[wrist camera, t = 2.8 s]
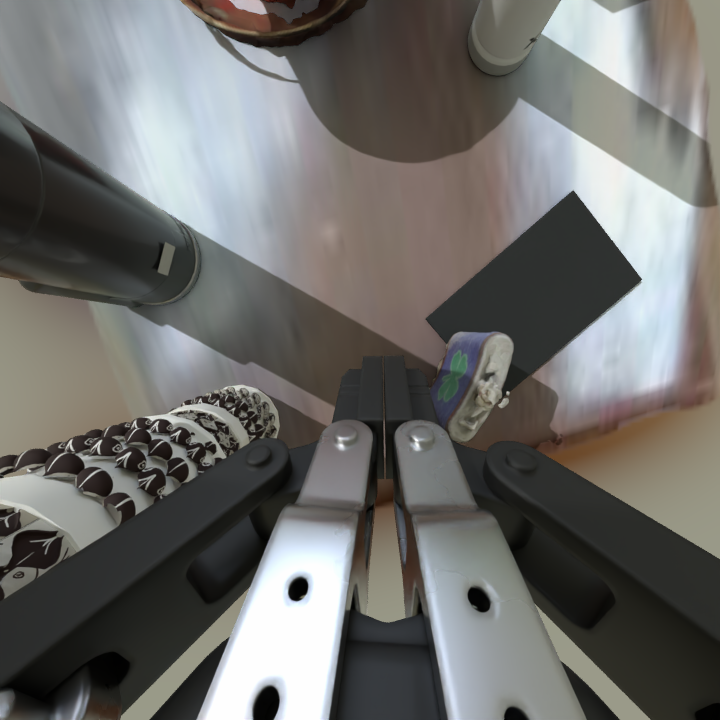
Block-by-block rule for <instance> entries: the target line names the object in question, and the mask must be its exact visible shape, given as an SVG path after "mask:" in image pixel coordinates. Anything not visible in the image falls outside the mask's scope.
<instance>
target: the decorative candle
mask: <svg viewBox="0 0 720 720" xmlns="http://www.w3.org/2000/svg"><path fill="white" fill-rule="evenodd" d="M279 427H280V423H279V416H278V411H277V409H276V407H275V406H274V404H273V402H272V401H271V399H270V398H269V397H268V396H267V395H265V394H264V393H263V392H261V391H260V390H259V389H257V388H253V387H249V386H245V385H237V386H229V387H226V388H224V389H222V390H219V389H218V390H215V391H214V393H212V392H208V393H207V394H206V395H205V397H202V396H199V397H196V398H195V399H194V400H187V401H185V402H183V403H182V405H181V406H180V408H175V409H172V410H171V411H170V412H169V413H167V414H164V415H156V416H148V417H141V418H137V419H135V420H133V421H132V422H131V423H129V422H125V423H121V424H119V425H113V426H110V427H107V428H106V429H105V430H104V431H102V430H99V429H95V430H91V431H89V432H87V433H86V434H85V435H80V436H75V437H73V438H71V439H69V440H68V441H67V442H59V443H55V444H53V445H51V446H49V447H48V448H47V449H46V450H44V449H31V450H28V451H25V452H23V453H21V454H20V455H19V456H17V455H7V456H4V457H1V458H0V601H1V600H3V599H5V598H6V597H8V596H9V595H11V594H12V593H14V592H16V591H17V590H19V589H20V588H22V587H23V586H25V585H27V584H28V583H30V582H31V581H33V580H34V579H36V578H38V577H39V576H41V575H42V574H44V573H46V572H47V571H49V570H50V569H52V568H53V567H55V566H57V565H58V564H60V563H61V562H63V561H64V560H66V559H68V558H69V557H71V556H72V555H74V554H75V553H77V552H79V551H80V550H82V549H83V548H85V547H86V546H88V545H90V544H91V543H93V542H94V541H96V540H97V539H99V538H101V537H102V536H104V535H105V534H107V533H108V532H110V531H112V530H113V529H115V528H116V527H118V526H119V525H121V524H123V523H124V522H126V521H127V520H129V519H130V518H132V517H134V516H135V515H137V514H138V513H140V512H141V511H143V510H145V509H146V508H148V507H149V506H151V505H152V504H154V503H156V502H157V501H159V500H160V499H162V498H163V497H165V496H167V495H168V494H170V493H171V492H173V491H174V490H176V489H178V488H179V487H181V486H182V485H184V484H185V483H187V482H189V481H190V480H192V479H193V478H195V477H196V476H198V475H200V474H201V473H203V472H204V471H206V470H207V469H209V468H211V467H212V466H214V465H215V464H217V463H218V462H220V461H222V460H223V459H225V458H226V457H228V456H229V455H231V454H233V453H234V452H236V451H237V450H239V449H240V448H242V447H244V446H245V445H247V444H249V443H250V442H253V441H255V440H258V439H262V438H276V439H277V435H278V431H279ZM24 469H27V474H25V475H22V476H15V477H7V478H4V477H3V476H4V475H6V474H8V473H12V472H15V471H20V470H24Z"/></svg>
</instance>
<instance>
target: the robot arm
mask: <svg viewBox="0 0 720 720" xmlns="http://www.w3.org/2000/svg"><path fill="white" fill-rule="evenodd" d="M200 267H201V256H200V250H199V247H198V244H197V241H196V239H195V237H194V236H193V234H192V233H191V231H190V230H189V229H188V228H187V227H186V226H185V225H184V224H183V223H182V222H181V221H179V220H178V219H176V218H175V217H173V216H172V215H170V214H168V213H166V212H165V211H163V210H161V209H160V208H158V207H157V206H155V205H154V204H152V203H151V202H149V201H148V200H146V199H145V198H144V197H142V196H141V195H139V194H138V193H136V192H135V191H133V190H132V189H130V188H129V187H127V186H126V185H124V184H123V183H121V182H120V181H118V180H117V179H115V178H114V177H112V176H111V175H109V174H108V173H106V172H105V171H103V170H102V169H100V168H99V167H97V166H96V165H94V164H93V163H91V162H90V161H88V160H87V159H85V158H84V157H82V156H81V155H79V154H78V153H76V152H75V151H73V150H72V149H70V148H69V147H67V146H66V145H64V144H63V143H61V142H60V141H58V140H57V139H55V138H54V137H52V136H51V135H49V134H48V133H46V132H45V131H43V130H42V129H41V128H39V127H38V126H36V125H35V124H33V123H32V122H30V121H29V120H27V119H26V118H24V117H23V116H21V115H20V114H18V113H17V112H15V111H14V110H12V109H11V108H9V107H8V106H6V105H5V104H3V103H2V102H0V277H5V278H10V279H16V280H18V281H19V282H20V284H21V285H22V286H23V287H24V288H25V289H27V290H29V291H31V292H35V293H42V294H49V295H55V296H63V297H69V298H75V299H82V300H89V301H96V302H102V303H109V304H116V305H122V306H129V307H139V306H140V305H142V304H148V305H166V304H170V303H173V302H175V301H177V300H179V299H181V298H182V297H184V296H185V295H186V294H187V293H188V292H189V291H190V290H191V289H192V288H193V286H194V285H195V283H196V281H197V279H198V276H199V272H200ZM384 401H385V445H386V479H393V486H394V511H395V520H396V528H397V536H398V544H399V552H400V560H401V567H402V576H403V587H404V604H405V615H406V618H405V619H401V620H398V621H395V622H390V623H386V622H381V621H379V620H376V619H374V618H371V617H369V616H367V604H368V579H369V566H370V556H371V545H372V535H373V524H374V514H375V500H376V497H377V479H384V436H383V368H382V356H363V362H362V369H349V370H348V371H347V372H346V373H345V375H344V376H343V377H342V380H341V384H340V389H339V393H338V398H337V402H336V407H335V411H334V416H333V420H332V424H331V425H329V426H328V427H327V428H325V429H324V431H323V432H322V434H321V436H320V439H319V440H318V441H316V442H314V443H311V444H309V445H305V446H301V447H297V448H293V449H289V450H288V447H287V445H286V444H285V443H284V442H283V441H281V440H279V439H276V438H262V439H258V440H255V441H253V442H250V443H249V444H247V445H245V446H244V447H242V448H240V449H239V450H237V451H236V452H234V453H233V454H231V455H229V456H228V457H226V458H225V459H223V460H222V461H220V462H218V463H217V464H215V465H214V466H212V467H211V468H209V469H207V470H206V471H204V472H203V473H201V474H200V475H198V476H196V477H195V478H193V479H192V480H190V481H189V482H187V483H185V484H184V485H182V486H181V487H179V488H178V489H176V490H174V491H173V492H171V493H170V494H168V495H167V496H165V497H163V498H162V499H160V500H159V501H157V502H156V503H154V504H152V505H151V506H149V507H148V508H146V509H145V510H143V511H141V512H140V513H138V514H137V515H135V516H134V517H132V518H130V519H129V520H127V521H126V522H124V523H123V524H121V525H119V526H118V527H116V528H115V529H113V530H112V531H110V532H108V533H107V534H105V535H104V536H102V537H101V538H99V539H97V540H96V541H94V542H93V543H91V544H90V545H88V546H86V547H85V548H83V549H82V550H80V551H79V552H77V553H75V554H74V555H72V556H71V557H69V558H68V559H66V560H64V561H63V562H61V563H60V564H58V565H57V566H55V567H53V568H52V569H50V570H49V571H47V572H46V573H44V574H42V575H41V576H39V577H38V578H36V579H34V580H33V581H31V582H30V583H28V584H27V585H25V586H23V587H22V588H20V589H19V590H17V591H16V592H14V593H12V594H11V595H9V596H8V597H6V598H5V599H3V600H1V601H0V720H120V718H121V715H122V714H123V713H124V712H125V711H126V710H127V709H128V708H129V707H130V706H131V705H132V704H133V703H134V702H135V701H136V700H137V699H138V698H139V697H140V696H141V695H142V694H143V693H144V692H145V691H146V690H147V689H148V688H149V687H150V686H151V685H152V684H153V683H154V682H155V681H156V680H157V679H158V678H159V677H160V676H161V675H162V674H163V673H164V672H165V671H166V670H167V669H168V668H169V667H170V666H171V665H172V664H173V663H174V662H175V661H176V660H177V659H178V658H179V657H180V656H181V655H182V654H183V653H184V652H185V651H186V650H187V649H188V648H189V647H190V646H191V645H192V644H193V643H194V642H195V641H196V640H197V639H198V638H199V637H200V636H201V635H202V634H203V633H204V632H205V631H206V630H207V629H208V628H209V627H210V626H211V625H212V624H213V623H214V622H215V621H216V620H217V619H218V618H219V617H220V616H221V615H222V614H223V613H224V612H225V611H226V610H227V609H228V608H229V607H230V606H231V605H232V604H233V603H234V602H235V601H236V600H237V599H238V598H239V597H240V596H241V595H242V594H243V593H244V592H245V591H246V590H247V589H248V588H249V587H250V589H249V591H248V594H247V596H246V599H245V601H244V604H243V606H242V609H241V611H240V614H239V616H238V618H237V621H236V624H235V626H234V628H233V631H232V633H231V636H230V637H229V638H227V639H226V640H225V641H223V642H222V643H221V644H220V645H219V646H218V647H217V648H216V649H214V651H212V652H211V653H210V654H209V655H208V656H207V657H206V658H205V659H204V660H203V661H202V662H201V663H200V664H199V665H198V666H197V668H196V669H195V670H194V671H193V672H192V673H191V674H190V675H189V676H188V678H187V679H186V680H185V681H184V682H183V683H182V684H181V685H180V686H179V688H178V689H177V690H176V691H175V692H174V693H173V694H172V695H171V696H170V698H169V699H168V700H167V701H166V702H165V703H164V704H163V705H162V706H161V708H160V709H159V710H158V711H157V712H156V713H155V714H154V715H153V717H152V718H151V719H150V720H619V718H618V717H617V716H616V715H615V714H614V713H613V712H612V711H611V710H610V709H609V707H608V706H607V705H606V704H605V703H604V702H603V701H602V700H601V699H600V698H599V696H598V695H597V694H595V692H594V691H593V690H592V689H591V688H590V687H589V686H588V685H587V684H586V683H585V682H584V681H583V680H582V679H581V678H579V676H578V675H576V674H575V673H574V672H573V671H572V670H571V669H570V668H569V667H568V666H566V665H565V664H564V663H563V662H561V661H560V659H559V657H558V655H557V652H556V650H555V648H554V646H553V644H552V641H551V639H550V637H549V635H548V632H547V630H546V628H545V626H544V624H543V621H542V619H541V617H540V615H539V612H538V610H537V608H536V606H535V604H536V605H537V606H538V607H539V608H540V609H541V610H542V611H543V612H544V613H545V614H546V615H547V616H548V617H549V618H550V619H551V620H552V621H553V622H554V623H555V624H556V625H557V626H558V627H559V628H560V629H561V630H562V631H563V632H564V633H565V634H566V635H567V636H568V637H569V638H570V639H571V640H572V641H573V642H574V643H575V644H576V645H577V646H578V647H579V648H580V649H581V650H582V651H583V652H584V653H585V654H586V655H587V656H588V657H589V658H590V659H591V660H592V661H593V662H594V663H595V664H596V665H597V666H598V667H599V668H600V669H601V670H602V671H603V672H604V673H605V674H606V675H607V676H608V677H609V678H610V679H611V680H612V681H613V682H614V683H615V684H616V685H617V686H618V687H619V688H620V689H621V690H622V691H623V692H624V693H625V694H626V695H627V696H628V697H629V698H630V699H631V700H632V701H633V702H634V703H635V704H636V705H637V706H638V707H639V708H640V709H641V710H642V711H643V712H644V713H645V714H646V715H647V716H648V717H649V718H650V719H651V720H720V559H719V558H717V557H715V556H713V555H712V554H710V553H709V552H707V551H705V550H704V549H702V548H700V547H698V546H697V545H695V544H693V543H692V542H690V541H688V540H687V539H685V538H683V537H682V536H680V535H678V534H676V533H675V532H673V531H672V530H670V529H668V528H667V527H665V526H663V525H662V524H660V523H658V522H657V521H655V520H653V519H652V518H650V517H648V516H646V515H645V514H643V513H641V512H640V511H638V510H636V509H635V508H633V507H631V506H630V505H628V504H626V503H625V502H623V501H621V500H620V499H618V498H616V497H615V496H613V495H611V494H610V493H608V492H606V491H605V490H603V489H601V488H599V487H598V486H596V485H594V484H593V483H591V482H589V481H588V480H586V479H584V478H583V477H581V476H579V475H578V474H576V473H574V472H573V471H571V470H569V469H568V468H566V467H564V466H562V465H561V464H559V463H558V462H556V461H554V460H552V459H551V458H549V457H547V456H546V455H544V454H542V453H541V452H539V451H537V450H536V449H534V448H532V447H530V446H528V445H525V444H522V443H519V442H514V441H501V442H497V443H494V444H493V445H491V446H490V447H489V448H488V450H487V452H485V451H481V450H477V449H473V448H469V447H466V446H463V445H460V444H458V443H456V442H454V441H453V440H451V439H450V438H449V436H448V434H447V433H446V431H445V430H444V429H443V428H442V427H440V425H439V422H438V418H437V415H436V411H435V407H434V404H433V400H432V396H431V393H430V389H429V387H428V382H427V378H426V376H425V375H424V374H423V373H422V372H421V371H420V370H419V369H406V368H405V362H404V356H384ZM534 603H535V604H534Z"/></svg>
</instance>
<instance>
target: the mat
mask: <svg viewBox="0 0 720 720" xmlns="http://www.w3.org/2000/svg"><path fill="white" fill-rule="evenodd" d="M641 280H642V279H641V277H640V276H639V275H638V274H637V272H636V271H635V270H634V268H633V267H632V266H631V264H630V263H629V262H628V261H627V259H626V258H625V257H624V255H623V254H622V253H621V251H620V250H619V249H618V248H617V246H616V245H615V244H614V242H613V241H612V240H611V239H610V237H609V236H608V235H607V233H606V232H605V231H604V229H603V228H602V227H601V226H600V224H599V223H598V222H597V220H596V219H595V218H594V216H593V215H592V214H591V213H590V211H589V210H588V209H587V207H586V206H585V205H584V203H583V202H582V201H581V200H580V198H579V197H578V196H577V194H576V193H575V192H574V191H572V192H571V193H569V194H568V195H567V196H566V197H565V198H564V199H562V200H561V201H560V202H559V203H558V204H557V205H556V206H554V207H553V208H552V209H551V210H550V211H549V212H548V213H546V214H545V215H544V216H543V217H542V218H541V219H540V220H538V221H537V222H536V223H535V224H534V225H533V226H531V227H530V228H529V229H528V230H527V231H526V232H525V233H523V234H522V235H521V236H520V237H519V238H518V239H517V240H515V241H514V242H513V243H512V244H511V245H510V246H509V247H507V248H506V249H505V250H504V251H503V252H502V253H500V254H499V255H498V256H497V257H496V258H495V259H494V260H492V261H491V262H490V263H489V264H488V265H487V266H486V267H484V268H483V269H482V270H481V271H480V272H479V273H478V274H476V275H475V276H474V277H473V278H472V279H471V280H469V281H468V282H467V283H466V284H465V285H464V286H463V287H461V288H460V289H459V290H458V291H457V292H456V293H455V294H453V295H452V296H451V297H450V298H449V299H448V300H447V301H445V302H444V303H443V304H442V305H441V306H440V307H438V308H437V309H436V310H435V311H434V312H433V313H432V314H430V315H429V316H428V317H427V318H426V320H427V321H428V323H429V324H430V325H431V326H432V327H433V329H434V330H435V331H436V332H437V333H438V334H439V336H440V337H441V338H442V339H443V340H444V342H445V343H446V344H448V342H449V340H450V339H451V337H452V336H453V335H454V334H455V333H458V332H477V333H491V332H500V333H503V334H506V335H507V336H509V337H510V338H511V339H512V341H513V343H514V350H513V354H512V360H511V364H510V367H509V369H508V373H507V377H506V380H505V382H504V386H503V388H502V398H503V397H504V396H505V395H506V392H507V391H508V392H510V391H511V390H512V389H513V388H515V387H516V386H517V385H518V384H519V383H521V382H522V381H523V380H524V379H525V378H526V377H528V376H529V375H530V374H531V373H532V372H534V371H535V370H536V369H537V368H538V367H539V366H541V365H542V364H543V363H544V362H545V361H547V360H548V359H549V358H550V357H551V356H552V355H554V354H555V353H556V352H557V351H558V350H560V349H561V348H562V347H563V346H564V345H565V344H567V343H568V342H569V341H570V340H571V339H573V338H574V337H575V336H576V335H577V334H578V333H580V332H581V331H582V330H583V329H584V328H586V327H587V326H588V325H589V324H590V323H591V322H593V321H594V320H595V319H596V318H597V317H599V316H600V315H601V314H602V313H603V312H604V311H606V310H607V309H608V308H609V307H610V306H612V305H613V304H614V303H615V302H616V301H617V300H619V299H620V298H621V297H622V296H623V295H625V294H626V293H627V292H628V291H629V290H630V289H632V288H633V287H634V286H635V285H636V284H638V283H639V282H640V281H641ZM502 398H501V399H502ZM499 400H500V399H499Z"/></svg>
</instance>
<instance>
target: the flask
mask: <svg viewBox="0 0 720 720" xmlns="http://www.w3.org/2000/svg"><path fill="white" fill-rule="evenodd" d="M446 348H447V349H446V352H445V354H444V356H443V358H442V359H441V361H440V363H439V364H438V367H437V376H436V378H433V384H432V386H431V387H430V388H429V389H430V393H431V396H432V400H433V404H434V407H435V411H436V415H437V418H438V422H439V425H440V427H442V428H443V429H444V430H445V431H446V433H447V434H448V436H449V438H450V439H451V440H453V441H455V442H461V443H463V442H468V441H469V440H471V439H472V438H473V437H474V436H475V434H476V433H477V431H478V430H479V428H480V427H481V426H482V425H483V423H484V422H485V420H486V419H487V417H488V416H489V414H490V413H491V411H492V409H493V408H494V406H495V403H498V402H499V399H501V398H502V388H503V386H504V382H505V380H506V377H507V373H508V369H509V367H510V364H511V360H512V354H513V350H514V343H513V341H512V339H511V338H510V337H509V336H507V335H506V334H503V333H500V332H491V333H477V332H458V333H455V334H454V335H453V336H452V337H451V339H450V340H449V342H448V344H447V346H446ZM509 394H510V393H509V392H508V391H507V392H506V395H508V396H509ZM508 403H509V399H508V398H504V399H503V401H502V402H501V404H499V405H498V406H499V407H500V408H503V407H505V406H506V405H507V404H508Z"/></svg>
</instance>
